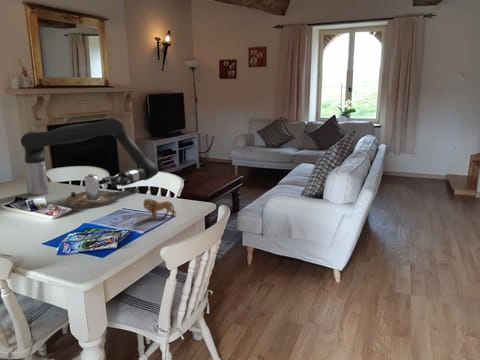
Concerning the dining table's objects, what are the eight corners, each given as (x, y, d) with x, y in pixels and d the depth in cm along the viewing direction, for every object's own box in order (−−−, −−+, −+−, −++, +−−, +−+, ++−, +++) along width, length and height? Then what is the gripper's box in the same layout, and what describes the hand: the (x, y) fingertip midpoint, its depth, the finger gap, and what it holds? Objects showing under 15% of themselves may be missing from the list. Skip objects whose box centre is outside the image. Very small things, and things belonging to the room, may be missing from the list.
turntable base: (55, 207, 175) (55, 205, 175) (79, 194, 198) (79, 192, 198) (104, 208, 174) (104, 206, 173) (123, 194, 197) (123, 193, 197)
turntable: (56, 205, 175) (56, 199, 174) (79, 192, 198) (79, 186, 197) (103, 206, 174) (103, 199, 173) (121, 193, 196) (121, 187, 196)
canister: (83, 202, 176) (80, 176, 173) (89, 198, 183) (87, 173, 180) (97, 202, 176) (94, 176, 173) (103, 198, 183) (100, 173, 179)
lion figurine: (145, 220, 158) (144, 200, 156) (142, 217, 162) (141, 197, 160) (178, 215, 165) (177, 196, 162) (174, 212, 169) (173, 193, 167)
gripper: (118, 169, 201) (94, 175, 187) (138, 172, 195) (114, 178, 181) (119, 182, 203) (95, 189, 189) (139, 185, 196) (115, 192, 182)
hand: (105, 183), depth 185 cm, fingers open, 8 cm apart
